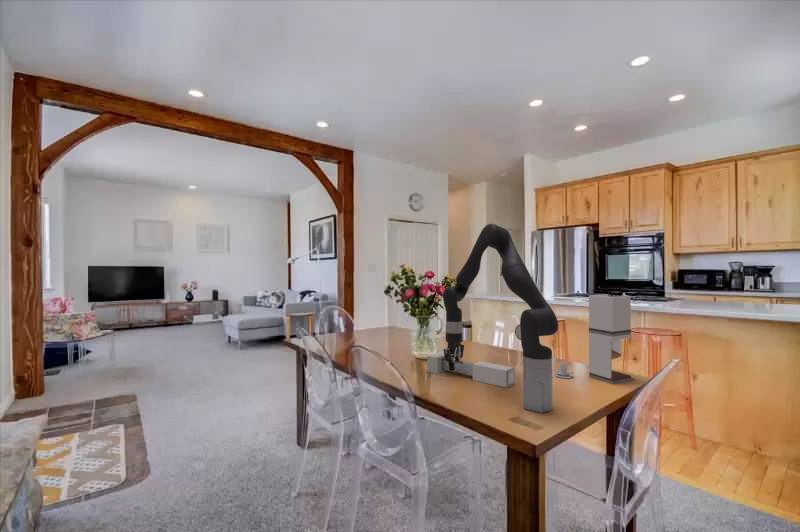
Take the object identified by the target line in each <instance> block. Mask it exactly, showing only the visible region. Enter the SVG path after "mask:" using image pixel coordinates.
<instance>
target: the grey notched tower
mask: <svg viewBox="0 0 800 532" xmlns="http://www.w3.org/2000/svg"><path fill="white" fill-rule="evenodd" d="M631 298H632V297H631V295H625V296H609V294H605V293H604V294H591V295H588V375H589V376H588V377H589V378H590V377H591V379H593V378H594V380H597V381H601V382H604V383H607V384H610V385H617V384H621V383H626V382H630V381H632V375H630V374H627V373H623V372H620V371H616V370H612V368H613V367H612V363H613V361H612V360H615V359H618V358H620V357H622V340H623V339H624V340H625V339H629V338H631V336H632V332H631V331H632V330H631V329H632V325H631V321H632V320H631V319H632V316H631V315H632V314H631V313H632V312H631V305H632V303H631V302H632V301H631Z"/></svg>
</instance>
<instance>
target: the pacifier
mask: <svg viewBox="0 0 800 532" xmlns="http://www.w3.org/2000/svg"><path fill="white" fill-rule="evenodd" d="M568 366H569V365H568V363H567V362H566V361H561V362H560V364H559V367H560V370H559V369H554V372H555V373H556V374H555V375H554V376H555V377H556V378H559V379H571V378H572V376H571V375H572V374H574V372H573V371H570V372H567V370H568Z"/></svg>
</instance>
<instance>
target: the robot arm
mask: <svg viewBox="0 0 800 532" xmlns="http://www.w3.org/2000/svg"><path fill="white" fill-rule="evenodd" d="M489 247H490V248H492V249H495V250H496V252H497V253H498V255H499V257H500V258H501V261H502V262H501V266H500V267H501V268H500V272H501V275H502V278H503V280H504V282H505V284H506V286H507V287H508V289H509V290H510V291H511V292H512V293H514V295H516V296H517V297H518V298H520V299H521V300H522V301H523V302H525V304H527V305H528V306H529V308H528V309H525V310H523V311H522V313H521V315H520V322H519V324H520V330H521V340H520V343H521V344H520V345H521V347H522V363H523V364H522V367H523V368H522V370H523V371H522V376H523V377H522V378H523V379H522V380H523V381H522V384H523V385H522V387H523V388H522V391H523V393H522V394H523V398H522V399H523V402H522V403H523V409H525V410H528V411H533V412H537V413H540V414H543V413H546V412H551V411H552V410H553V351H552V348H551V347H549V346H548V345H547V346H546V345H542V344H541V342H540V337H545V336H546V337H547V336H552V335H553V336H554V335H555V334H556V333H557V332H558V330H559V320H558V318H557V315H556V314H555V312H554V311H553V308H552V307H551V306H550V305H549V303H548V302H547V300H546V299H545V297H544V296H543V295H542V293H541V291H540V290H539V288H538V286H537V284H536V283H535V281H534V279H533V277H532V275H531V274H530V272H529V270H528V268H527V266H526V265H525V263H524V261H523V259H522V258H521V256H520V254H519V253H518V251H517V248H516V246H515V243H514V241H513V238H512V235H511V233H510V232H509V231H508V230H507V229H506V228H505V227H502V226H499V225H498V224H495V223H488V224H485V226H484V227H483V229H482V230H481V231H480V233H479V235H478V237H477V239H476V242H475V243H474V245H473V247H472V250H471V252H470V255H469V256H468V258H467V260H466V262H465V263H464V265H463V267H461V269H460V270H459V272H458V274H457V275H456V277H455V281H456V283H455V284H454V285H452V286H448V287H446V288H444V290H443V293H442V300H443V304H444V308H445V318H446V319H445V342H447V346H446V348H444V349H443V351H444V355H445V360H446V361H447V362H449V370H448V371H451V372H454V363H453V362H454V360H459V361H461V359H463V356H464V349H465V345H464V344H461V343H463V340H464V339H463V337H464V336H463V333H464V332H463V331H464V329H463V311H462V309H461V308H460V307H459V305H458V302H461V301H462V300H463V299H464V298H465V297H466V296H467V293H468V291H469V289H470V287H471V285H472V283H473V282H474V281H475V279H476V278H477V276H478V275H479V273H480V270H481V263H482V259H483V258H482V256H484V255H483V254H484V252H485V251H486V250H487V248H489ZM451 354H452V355H451ZM447 357H448V358H447ZM451 357H452V359H451Z"/></svg>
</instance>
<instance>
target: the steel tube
mask: <svg viewBox="0 0 800 532" xmlns="http://www.w3.org/2000/svg"><path fill="white" fill-rule="evenodd" d="M453 363H454V371H453V372H456V373H461V374H464V375H469V376H473V364H475V363H474V362H468V361H465V360H464V361H463V360H460V361H459V360H455V359H454V362H453ZM442 369H445V370H447V371H450V370H449V362H447V361H446V360H445V358H443V359H442Z"/></svg>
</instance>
